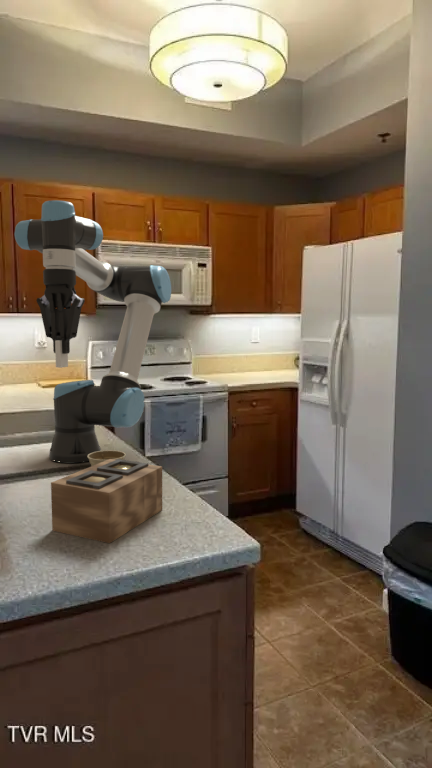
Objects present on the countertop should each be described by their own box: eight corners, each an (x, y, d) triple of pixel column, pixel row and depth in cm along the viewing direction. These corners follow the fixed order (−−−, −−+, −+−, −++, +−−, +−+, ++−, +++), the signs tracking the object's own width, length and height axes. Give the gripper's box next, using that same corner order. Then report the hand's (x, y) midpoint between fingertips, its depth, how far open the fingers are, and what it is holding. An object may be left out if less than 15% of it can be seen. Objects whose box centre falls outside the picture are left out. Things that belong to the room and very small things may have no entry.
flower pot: (80, 488, 138) (79, 454, 136) (111, 480, 144) (110, 448, 143) (102, 497, 131) (102, 462, 130) (133, 488, 138) (133, 454, 137)
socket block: (110, 500, 129) (110, 456, 128) (162, 509, 123) (162, 463, 122) (52, 530, 111) (50, 479, 110) (109, 543, 105) (108, 489, 104)
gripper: (27, 268, 131) (30, 366, 134) (71, 266, 125) (73, 369, 128) (48, 270, 137) (51, 364, 140) (91, 269, 132) (93, 367, 135)
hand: (61, 366), depth 134 cm, fingers closed
